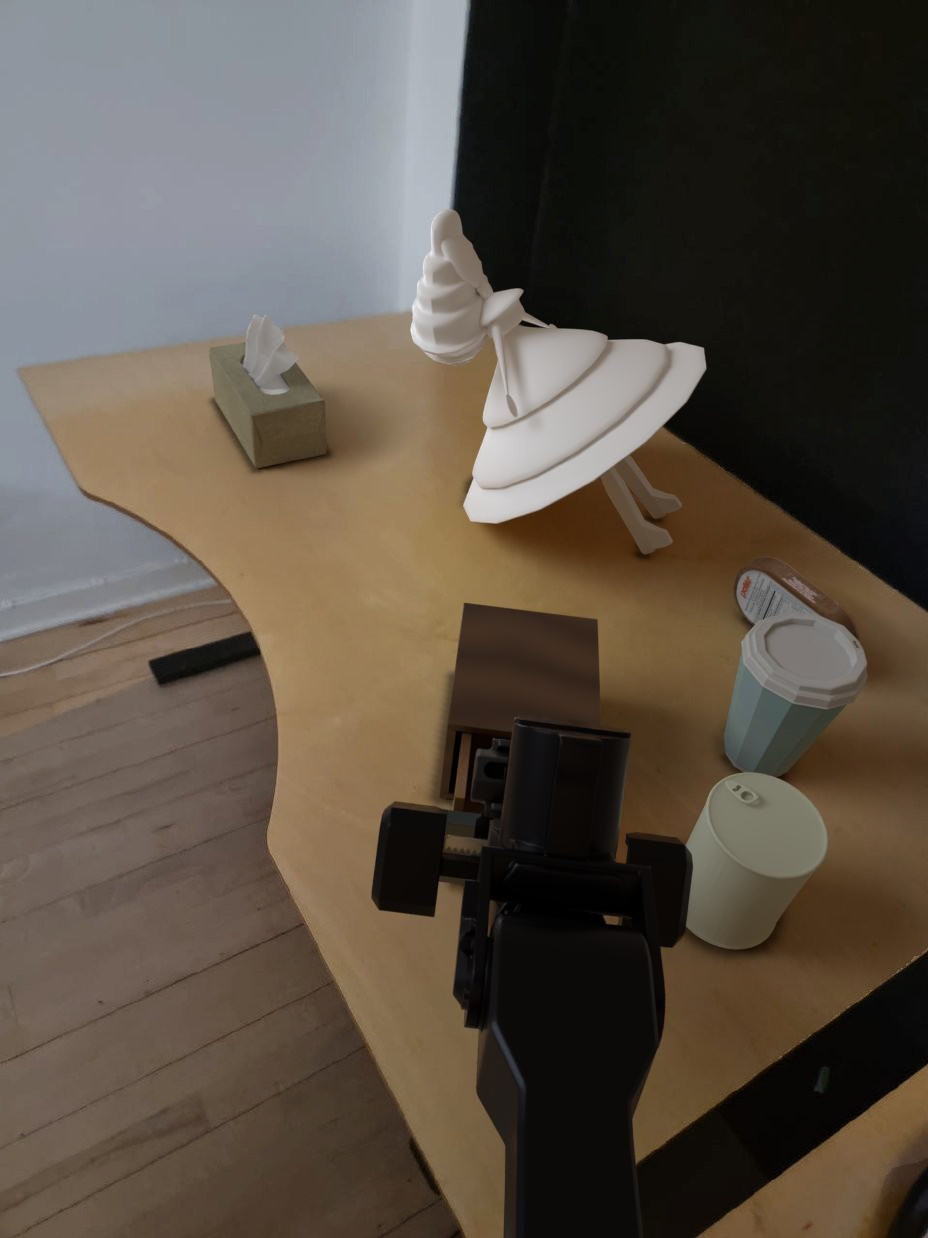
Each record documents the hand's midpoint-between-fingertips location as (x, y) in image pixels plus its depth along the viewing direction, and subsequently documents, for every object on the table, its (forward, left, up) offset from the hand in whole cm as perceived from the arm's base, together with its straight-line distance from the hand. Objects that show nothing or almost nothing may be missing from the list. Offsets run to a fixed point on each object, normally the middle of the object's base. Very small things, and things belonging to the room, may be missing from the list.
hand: (521, 839), depth 60 cm
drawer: (+7, -1, -11) cm, 13 cm away
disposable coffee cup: (+16, -27, -13) cm, 34 cm away
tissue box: (+72, +24, -12) cm, 77 cm away
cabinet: (+18, -3, -12) cm, 22 cm away
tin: (+31, -35, -13) cm, 49 cm away
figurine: (+56, -11, -12) cm, 59 cm away
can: (+1, -19, -12) cm, 23 cm away
